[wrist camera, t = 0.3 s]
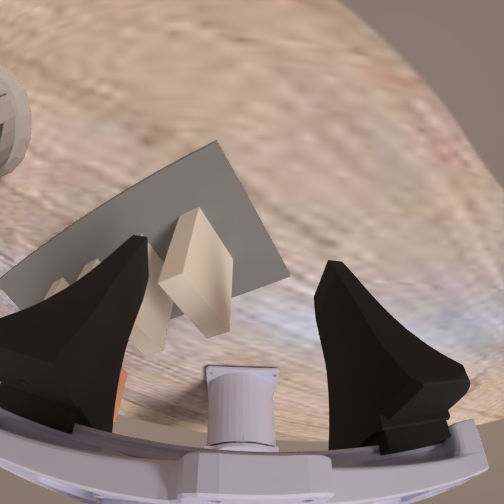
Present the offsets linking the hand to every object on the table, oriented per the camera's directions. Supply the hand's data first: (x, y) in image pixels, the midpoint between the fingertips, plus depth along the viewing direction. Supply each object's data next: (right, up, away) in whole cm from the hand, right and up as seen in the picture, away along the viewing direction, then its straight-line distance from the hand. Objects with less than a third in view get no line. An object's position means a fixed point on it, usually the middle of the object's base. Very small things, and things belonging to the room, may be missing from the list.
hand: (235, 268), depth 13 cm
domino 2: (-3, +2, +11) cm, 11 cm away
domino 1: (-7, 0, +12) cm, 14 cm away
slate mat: (-12, -2, +13) cm, 18 cm away
